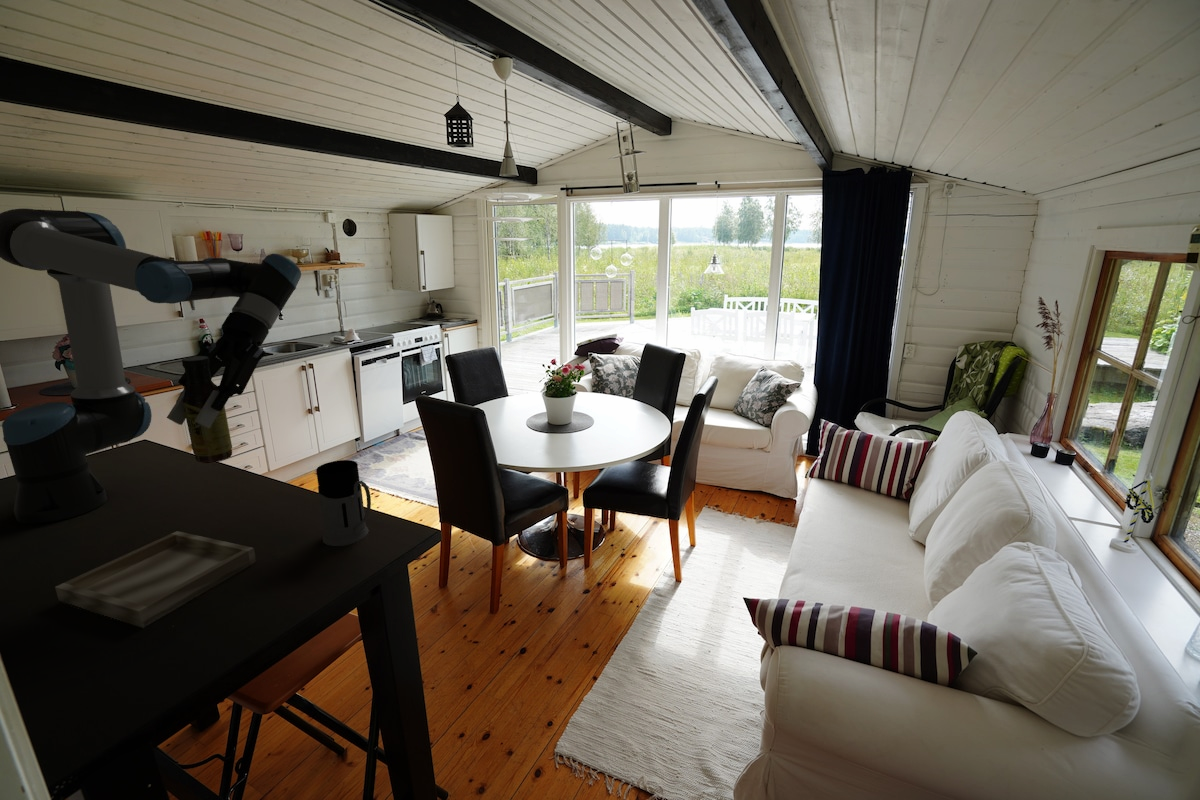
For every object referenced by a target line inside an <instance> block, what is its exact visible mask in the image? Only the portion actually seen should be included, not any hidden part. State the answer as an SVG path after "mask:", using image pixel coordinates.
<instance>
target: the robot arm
mask: <svg viewBox="0 0 1200 800" xmlns="http://www.w3.org/2000/svg"><path fill="white" fill-rule="evenodd" d="M0 258H1V259H2V260H3V261H5V262H7V263H9V264H11V265H15V266H16V267H17V266H18V267H20V268H26V269H29V270H33V271H43V272H44V271H46V273H47V276H50V277H51V278H52V279H54V280H56V281H57V283H58V287H59V293H60V298H61V302H62V303H61V304H62V309H63V314H64V320H65V323H66V325H65V326H66V330H67V334H68V340H69V346H70V352H71V356H72V362H73V367H74V372H75V378H76V384H77V387H76V388H74V389H73V390H71V392H70V399H71V400H70V401H71V403H70V402H68V401H53V402H51V401H50V402H45V403H42V404H36V405H31V406H29V407H25V408H21V409H19V410H17V411H15V412H12V413H11V414H8V416H7V417H5V418H4V420H3V421H2V422H1V429H2V433H3V434H2V435H3V441H4V443H5V445H6V449H7V451H8V455H9V458H10V461H11V464H12V468H13V472H14V475H15V478H16V482H17V490H16V494H15V500H14V506H13V513H14V516H15V520H16V521H17V522H18V523H21V524H27V525H28V524H29V525H30V524H32V525H33V524H34V525H35V524H44V523H51V522H58V521H61V520H66V519H70V518H74V517H77V516H79V515H82V514H83V515H84V514H86V513H89V512H91V511H93V510H95V509H97V508H99V507H101V506H103V504H105V503H106V502H107V500H108V496H107V492H106V490H105V488H104V487H103V485H102V484H101V483H100V482H99V480H98V478H97V477H96V476H95V475H94V474H93V472H92V471H91V470H90V467H89V463H88V458H87V455H89V454H93V453H95V452H99V451H101V450H104V449H107V448H110V447H113V446H117V445H120V444H124V443H128V442H130V441H132V440H134V439H136V438H139V437H141V436H142V435H144V433H146V431H147V430H148V429H149V428H150V426H151V423H152V418H153V417H152V409H151V406H150V403H149V402H146V398H145V397H144V396H143V395H142V394H141V393H138V392H136V389H135V387H134V386H133V385H131V384H129V383H127V381H126V377H125V372H124V370H125V369H124V364H123V360H122V359H123V358H122V351H121V346H120V339H119V334H118V326H117V321H116V320H117V319H116V315H115V310H114V309H115V308H114V303H113V302H114V301H113V295H112V291H111V285H112V286H116V287H119V288H122V289H127V290H131V291H134V292H138V293H139V294H140V295H141V296H143V297H144V298H145V299H146V301H149V302H152V303H154V304H179V303H183V302H184V303H185V302H191V301H193V302H194V301H199V300H200V301H201V300H210V299H218V298H221V299H222V298H229V297H230V298H232V297H233V298H238V299H237V301H236V302H235V304H234V306H233V307H232V308H231V312H229V313H228V315H227V317H226V318H225V320H224V321H223V322H222V325H221V330H222V335H221V337H220V338H218V339H216V342H209V341H208V340H206V341H204V342H203V343H202V345H201V348H200V350H199V352H198V353H197V355H196V356H207V357H208V358H209V363H210V364H209V369H210V375H211V377H212V378H213V377H214V376H215V375H216V374H217V373H218V372H219V370H220V369H221V368H224V369H223V373H222V376H221V379H220V383H219V385H217V387H216V386H215V388H216V389H218V390H219V391H220V392H218V391H217V390H213V392H212V393H211V395H210V396H209V398H208V400H207V401H206V403H205V405H204V406H203V408H202V410H201V411H200V413H199V414H198V416H197V418H196V419H195V422H197V423H198V424H200V425H202V426H204V427H205V428H210V427H211V425H212V423H213V422H214V420H215V418H216V417H217V415H218V413H219V412H220V411H221V410H222V409H223V407H224V406H225V405H226V404H227V402H228V401H229V398H231V397H233V396H234V395H238V396H241V395H242V394H243V393H244V391H245V390H246V388H247V385H248V383H249V381H250V379H251V378H252V375H253V373H254V372H255V370H256V367H257V366H258V364H259V362H260V361H261V360H262V359H263V357H264V356H265V355H266V351H265V350H263V349H262V348H261V347H262V345H263V344H264V341H265V340H266V338H267V337H268V335H269V333H270V330H271V329H272V328H273V326H274V324H275V323H276V321H277V319H278V317H279V315H280V314H281V312H282V310H283V309H284V307H285V305H286V304H287V302H288V301H289V299H290V298H291V296H292V294H293V292H294V291H295V290H297V285H298V283H299V281H300V279H301V277H302V271H301V268H300V267H299V266H298V265H297V263H295V262H294V261H293V260H292V259H290V258H288V257H286V256H285V255H282V254H280V253H270V254H268V255H266V256H265V257H264V258H263V259H262V260H261V263H258V262H246V261H238V260H233V259H228V258H224V257H207V258H204V259H202V260H174V259H169V258H166V257H162V256H158V255H154V254H150V253H147V252H142V251H138V250H136V249H135V250H133V249H130V248H127V244H126V241H125V238H124V236H123V234H122V232H121V231H120V229H119V228H118V226H117V225H115V224H114V223H113V222H112V221H111V220H110V219H108V218H107V217H105V216H104V215H102V214H98V213H94V212H93V213H92V212H86V211H80V210H57V209H56V210H54V209H36V208H35V209H33V208H15V209H13V208H12V209H9V210H4V211H3V212H0ZM260 346H261V347H260ZM177 382H178V384H179V385H181V386H182V387H183V390H181V393H180V394H179V396H178V397H177V399H176V400H175V401H176V402H175V403H174V405H173V407H172V408H171V410H170V411H169V413H168V415H167V416H166V419H168V420H170V421H171V422H173V423H175V424H177V425H181V426H182V425H183V424H184V422H185V421H186V416H185V410H184V405H183V398H184V393H185V388H186V383H187V381H186V373H185V372H184V373H182V376H181V377H180V378H179V380H178V381H177ZM225 407H226V406H225Z"/></svg>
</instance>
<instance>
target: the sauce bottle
mask: <svg viewBox="0 0 1200 800" xmlns="http://www.w3.org/2000/svg"><path fill="white" fill-rule="evenodd" d="M181 363H182V367H183V369H184V373H186V381H187V383H186V388H185V393H184V398H183V405H184V410H185V416H186V419H185V421H186V425H187V429H188V430H187V431H188V434H189V438H190V443H191V444H190V445H191V447H192V449H191V450H192V452H193V455H194V457H195V460H196V462H198V463H202V464H211V463H216V462H221V461H224V460H225V461H226V460H227V459H229V458H231V457H232V455H233V450H232V449H233V443H232V439H231V432H230V428H229V422H228V418H227V417H228V416H227V412H226V411H227V410H226V406H224V407H223V409H222V410H221V411H220V412H219V413H218V415H217V417H216V418H215V420H214V422H213V423H212V425H211V427H210V428H205V427H204V426H202V425H200V424H198V423H197V422H195V419H196V418H197V416H198V414H199V413H200V411H201V410H202V408H203V406H204V405H205V403H206V401H207V400H208V398H209V396H210V395H211V393H212V392H213V390H217V391H218V392H220V391H219V390H218V389H216V388H215V386H216V387H217V386H218V385H217V384H216V383H214V381H212V379H213V377H211V375H210V369H209V364H210V363H209V358H208V357H207V356H197V355H196V356H195V355H194V356H188V357H187V356H186V357H184V358H182V360H181Z"/></svg>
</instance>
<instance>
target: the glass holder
mask: <svg viewBox="0 0 1200 800" xmlns="http://www.w3.org/2000/svg"><path fill="white" fill-rule="evenodd" d="M358 465H359V464H358V462H357V461H354V460H348V459H342V460H334V461H329V462H326V463H323V464H321V465H319V466H318V467H316V469H315V472H316V478H317V480H316V481H317V492H318V498H319V499H318V501H319V507H320V514H321V521H322V528H323V536H322V539H321V540H322V543H324V544H325V545H327V546H330V545H331V546H332V547H343V546H348V545H352V543H353V544H355V542H356V543H358V542H360V541H362V540H364V539H365V538H366V537H367V536H368V535H369V533H368V532H370V530H369V527H367V524H366V520H367V519H368V518H369V516H370V513H371V509H372V508H371V507H372V502H371V492H370V489H369V487H368V485H367V484H366V483H365V481H363V480H360V474H359V473H360V472H359V467H358ZM362 487H363V489H364V491H365V496H366V511H365V508H364V507H365V506H364V501H363V500H364V499H363V491H362ZM367 534H368V535H367ZM366 535H367V536H366ZM365 536H366V537H365ZM364 537H365V538H364ZM363 538H364V539H363ZM361 539H362V540H361Z"/></svg>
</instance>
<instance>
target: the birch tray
mask: <svg viewBox="0 0 1200 800" xmlns="http://www.w3.org/2000/svg"><path fill="white" fill-rule="evenodd" d="M255 552H256V551H255V548H254V547H251V546H247V545H242V544H237V543H233V542H229V541H225V540H224V541H223V540H221V539H214V538H210V537H206V536H201V535H196V534H193V533H187V532H183V531H178V530H176V531H174V532H172V533H169V534H167V535H166V536H164V537H161V538H159V539H157V540H155V541H152V542H150V543H148V544H145V545H143V546H142V547H139V548H137V549H134V550H132V551H131V552H129V553H126V554H124V555H121V556H119V557H117V558H115V559H113V560H111V561H108V562H106V563H104V564H102V565H100V566H98V567H95V568H93V569H90V570H89V571H87V572H85V573H82V574H80V575H77V576H75V577H74V578H71V579H69V580H67V581H65V582H63V583H60V584H59V585H56V586H54V588H55V592H56V595H57V596H56V597H57V599H58V602H59V601H61V602H65V603H68V604H72V605H75V606H78V607H81V608H83V609H86V610H89V611H91V612H90V613H92V612H94V613H93V614H95V613H98V614H101V615H100V616H102V615H104V616H103V617H105V616H108V617H111V618H110V619H112V618H114V619H113V620H115V619H117V620H116V621H118V620H120V621H119V622H122V621H123V622H122V623H125V622H126V624H128V623H129V625H132V626H135V627H139V628H141V629H144V628H146V627H147V626H149V625H151V624H152V623H155V622H156V621H158V620H159V619H161V618H163V617H165V616H166V615H168V614H170V613H172V612H174V611H175V610H177V609H178V608H180V607H182V606H183V605H186V604H187V603H189V602H190V601H192V600H194V599H195V598H198V597H199V596H200V595H201V596H202V594H204V593H206V592H208V591H209V590H211V589H213V588H215V587H216V586H218V585H220V584H221V583H223V582H225V581H227V580H228V579H230V578H231V577H234V576H235V575H237V574H238V573H240V572H242V571H243V570H245V569H247V568H249V567H251V566H253V565H254V564H255V563H257V559H256V553H255ZM98 614H97V615H98ZM108 617H107V618H108Z"/></svg>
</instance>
